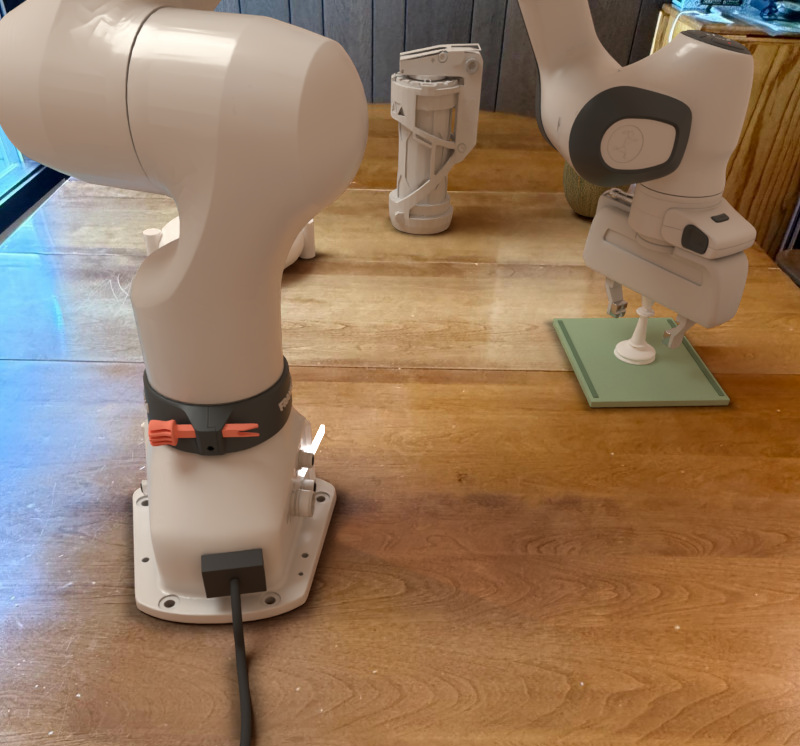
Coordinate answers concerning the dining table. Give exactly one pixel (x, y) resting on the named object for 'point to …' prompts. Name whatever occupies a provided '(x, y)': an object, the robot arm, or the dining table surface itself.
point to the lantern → (432, 131)
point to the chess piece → (638, 339)
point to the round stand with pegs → (171, 231)
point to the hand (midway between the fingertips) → (642, 330)
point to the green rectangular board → (635, 384)
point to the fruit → (583, 192)
